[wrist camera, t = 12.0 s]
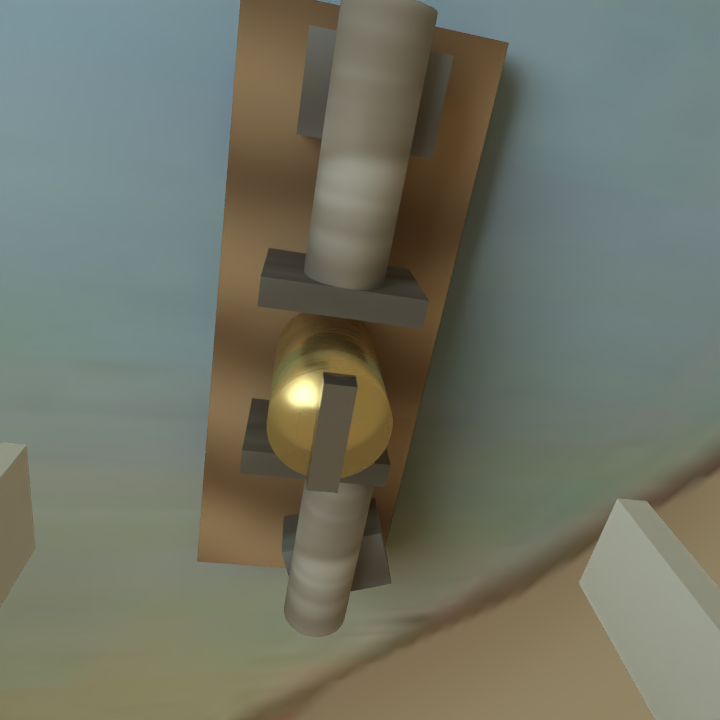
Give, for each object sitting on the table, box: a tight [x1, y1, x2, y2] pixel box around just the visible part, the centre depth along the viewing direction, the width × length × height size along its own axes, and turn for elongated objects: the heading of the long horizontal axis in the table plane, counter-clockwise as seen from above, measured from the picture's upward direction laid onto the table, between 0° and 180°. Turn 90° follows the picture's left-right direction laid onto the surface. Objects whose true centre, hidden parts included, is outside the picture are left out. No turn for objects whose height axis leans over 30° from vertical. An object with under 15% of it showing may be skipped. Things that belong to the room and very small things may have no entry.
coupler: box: [267, 312, 393, 493], centre depth 20 cm, size 4×4×7 cm
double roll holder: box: [197, 0, 509, 637], centre depth 22 cm, size 24×9×6 cm, turn 170°
